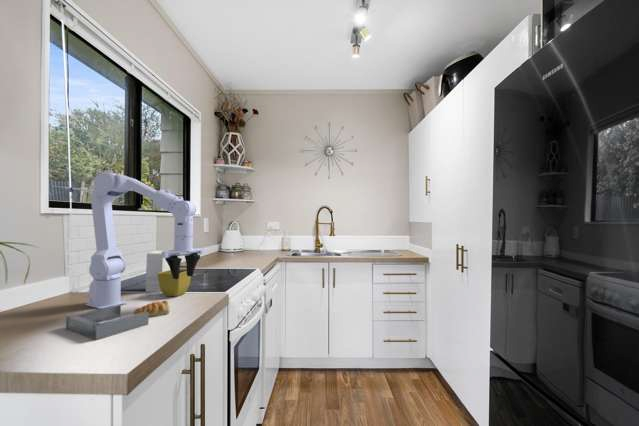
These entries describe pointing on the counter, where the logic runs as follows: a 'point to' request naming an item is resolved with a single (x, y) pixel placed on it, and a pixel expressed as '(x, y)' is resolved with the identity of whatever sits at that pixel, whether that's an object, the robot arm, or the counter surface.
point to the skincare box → (154, 270)
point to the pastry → (155, 309)
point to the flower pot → (173, 283)
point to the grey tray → (92, 329)
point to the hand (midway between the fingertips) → (182, 277)
